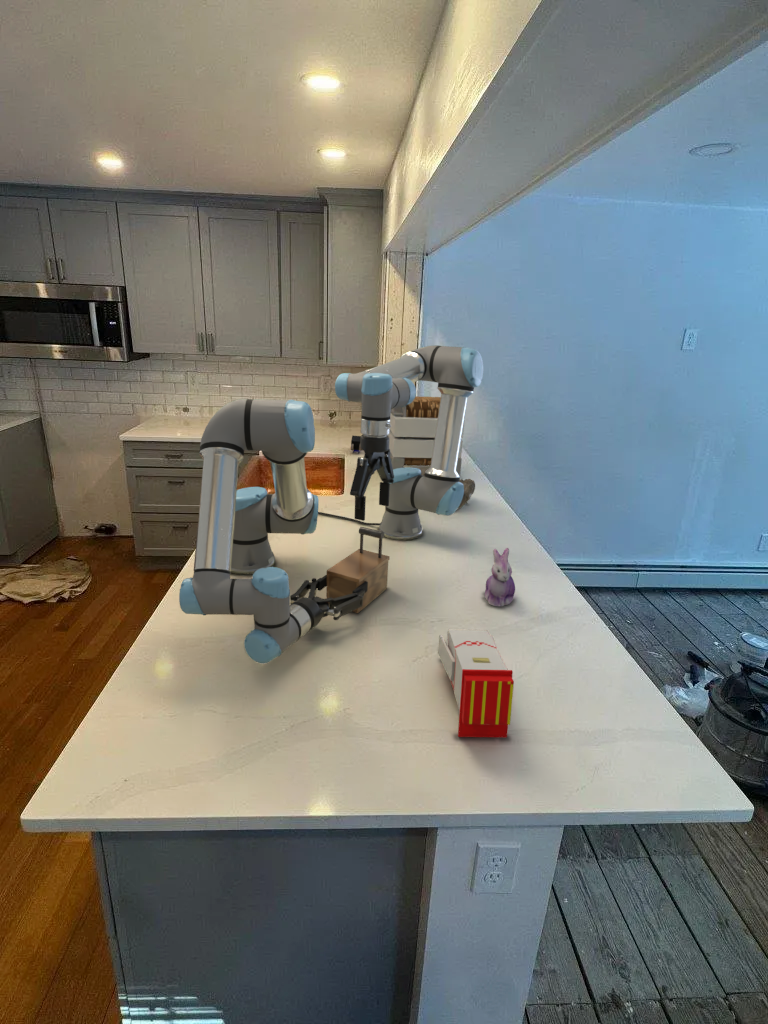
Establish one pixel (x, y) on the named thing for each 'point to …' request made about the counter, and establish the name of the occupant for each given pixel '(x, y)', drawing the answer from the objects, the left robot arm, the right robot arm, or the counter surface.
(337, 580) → the chest
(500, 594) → the figurine
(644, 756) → the counter surface
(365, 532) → the lid
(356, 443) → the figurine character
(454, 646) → the toy
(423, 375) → the right robot arm
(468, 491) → the fossil
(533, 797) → the counter surface
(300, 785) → the counter surface
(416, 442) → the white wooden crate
